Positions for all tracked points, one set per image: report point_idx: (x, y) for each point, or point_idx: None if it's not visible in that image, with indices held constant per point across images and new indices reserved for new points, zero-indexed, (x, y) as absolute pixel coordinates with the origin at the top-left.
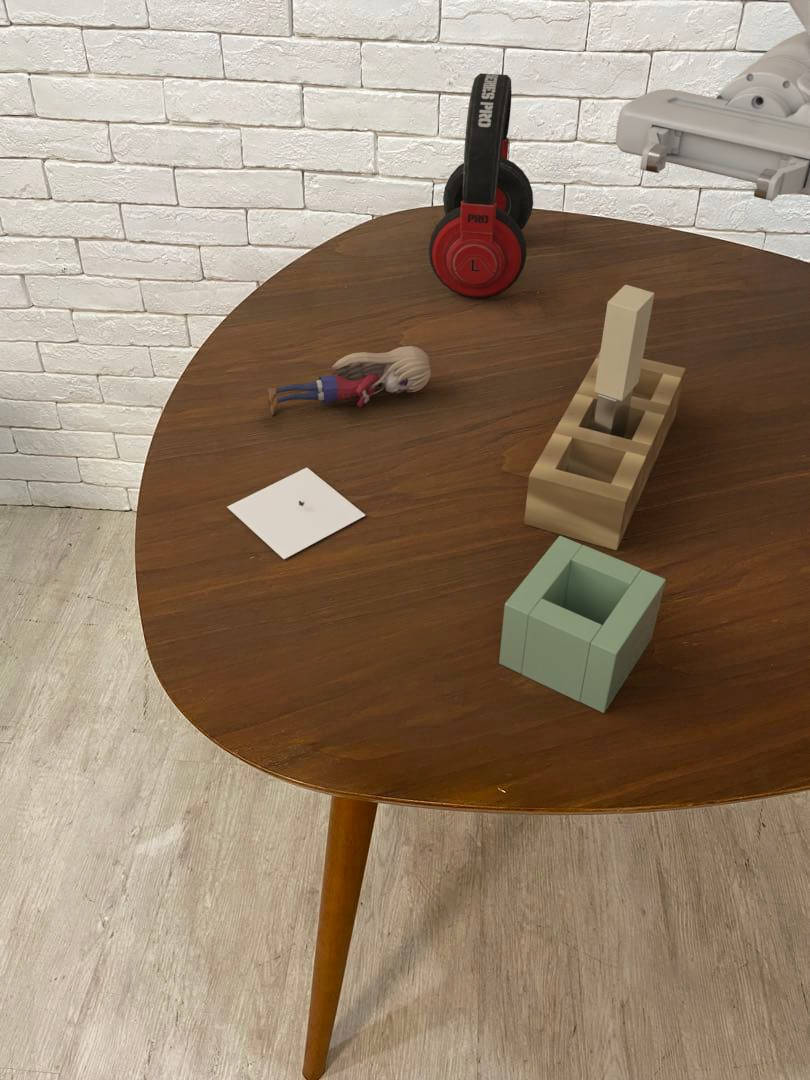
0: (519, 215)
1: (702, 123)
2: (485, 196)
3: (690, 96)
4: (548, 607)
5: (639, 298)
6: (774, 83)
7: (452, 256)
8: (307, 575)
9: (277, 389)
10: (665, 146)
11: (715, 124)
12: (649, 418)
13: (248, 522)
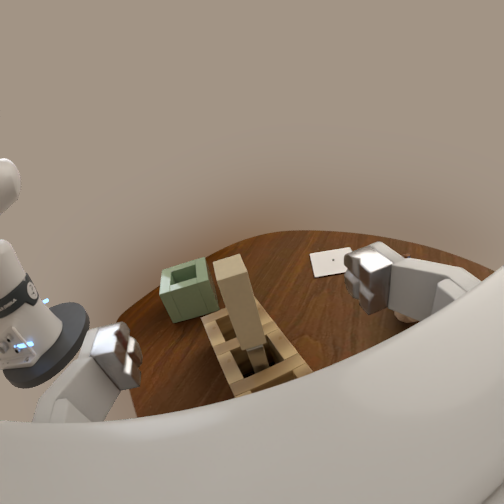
0: None
1: (418, 347)
2: None
3: None
4: (190, 264)
5: (222, 269)
6: None
7: None
8: (297, 257)
9: (408, 256)
10: (370, 267)
11: (383, 384)
12: (235, 374)
13: (336, 250)
